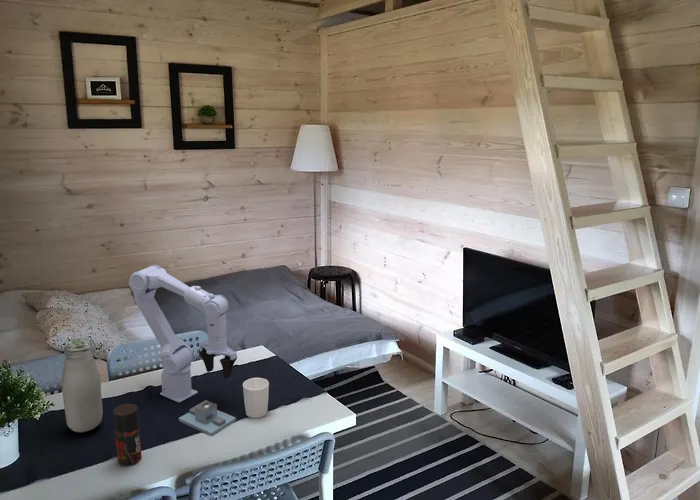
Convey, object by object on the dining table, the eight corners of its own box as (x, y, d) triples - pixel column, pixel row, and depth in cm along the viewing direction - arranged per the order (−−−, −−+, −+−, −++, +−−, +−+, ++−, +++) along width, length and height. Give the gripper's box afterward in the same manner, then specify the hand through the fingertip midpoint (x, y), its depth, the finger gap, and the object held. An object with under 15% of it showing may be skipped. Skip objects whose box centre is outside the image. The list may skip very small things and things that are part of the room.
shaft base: (178, 421, 167) (177, 406, 166) (203, 406, 175) (203, 392, 174) (211, 436, 160) (210, 420, 158) (236, 420, 168) (235, 405, 167)
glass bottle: (76, 442, 155) (65, 351, 148) (61, 428, 162) (51, 339, 155) (110, 428, 162) (102, 340, 155) (95, 415, 169) (86, 330, 162)
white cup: (265, 420, 168) (264, 391, 166) (240, 418, 169) (239, 388, 167) (272, 407, 176) (271, 378, 173) (248, 404, 177) (247, 376, 174)
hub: (195, 419, 166) (194, 406, 165) (206, 412, 170) (206, 399, 169) (206, 424, 164) (205, 411, 163) (217, 417, 168) (216, 404, 166)
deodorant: (122, 452, 151) (117, 403, 147) (144, 452, 152) (140, 403, 148) (114, 466, 145) (110, 415, 142) (138, 465, 146) (133, 415, 142)
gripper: (191, 333, 173) (193, 372, 176) (224, 344, 165) (226, 385, 169) (207, 326, 179) (209, 364, 182) (241, 336, 171) (242, 376, 174)
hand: (218, 374), depth 176 cm, fingers open, 7 cm apart
